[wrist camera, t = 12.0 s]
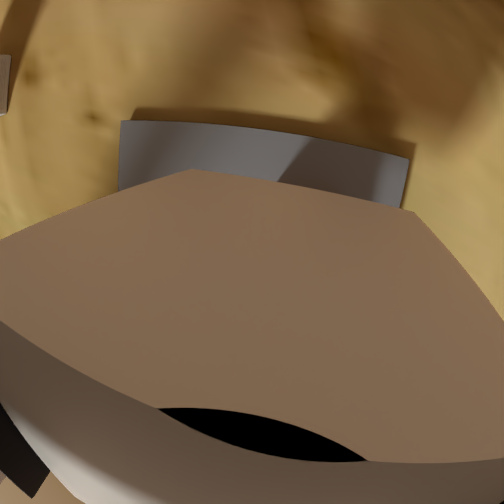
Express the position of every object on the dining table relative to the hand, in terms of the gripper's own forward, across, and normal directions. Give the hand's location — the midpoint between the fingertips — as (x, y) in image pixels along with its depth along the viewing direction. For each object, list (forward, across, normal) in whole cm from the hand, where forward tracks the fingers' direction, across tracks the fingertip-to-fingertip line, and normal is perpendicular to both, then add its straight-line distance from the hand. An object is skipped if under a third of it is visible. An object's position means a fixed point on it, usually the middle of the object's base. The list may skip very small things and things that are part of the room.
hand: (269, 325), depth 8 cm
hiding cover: (+2, 0, 0) cm, 2 cm away
